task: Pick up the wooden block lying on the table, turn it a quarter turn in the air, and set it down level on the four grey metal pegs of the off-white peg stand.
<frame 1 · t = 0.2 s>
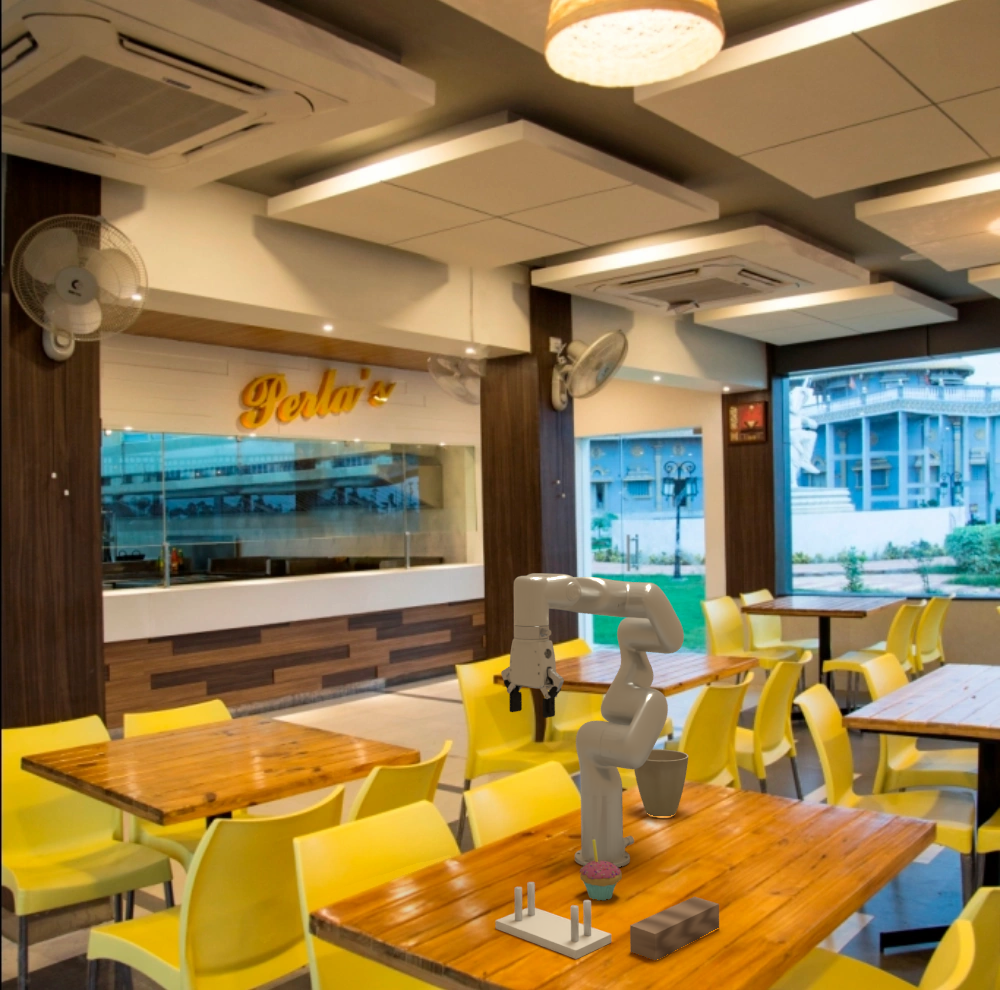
hand: (531, 714, 213), 37 cm above the table, tool pointing down, fingers open, 9 cm apart
peg stand: (552, 935, 186), on the table
wooden block: (676, 941, 183), on the table
cupcake: (601, 897, 206), on the table
plant pot: (660, 815, 266), on the table
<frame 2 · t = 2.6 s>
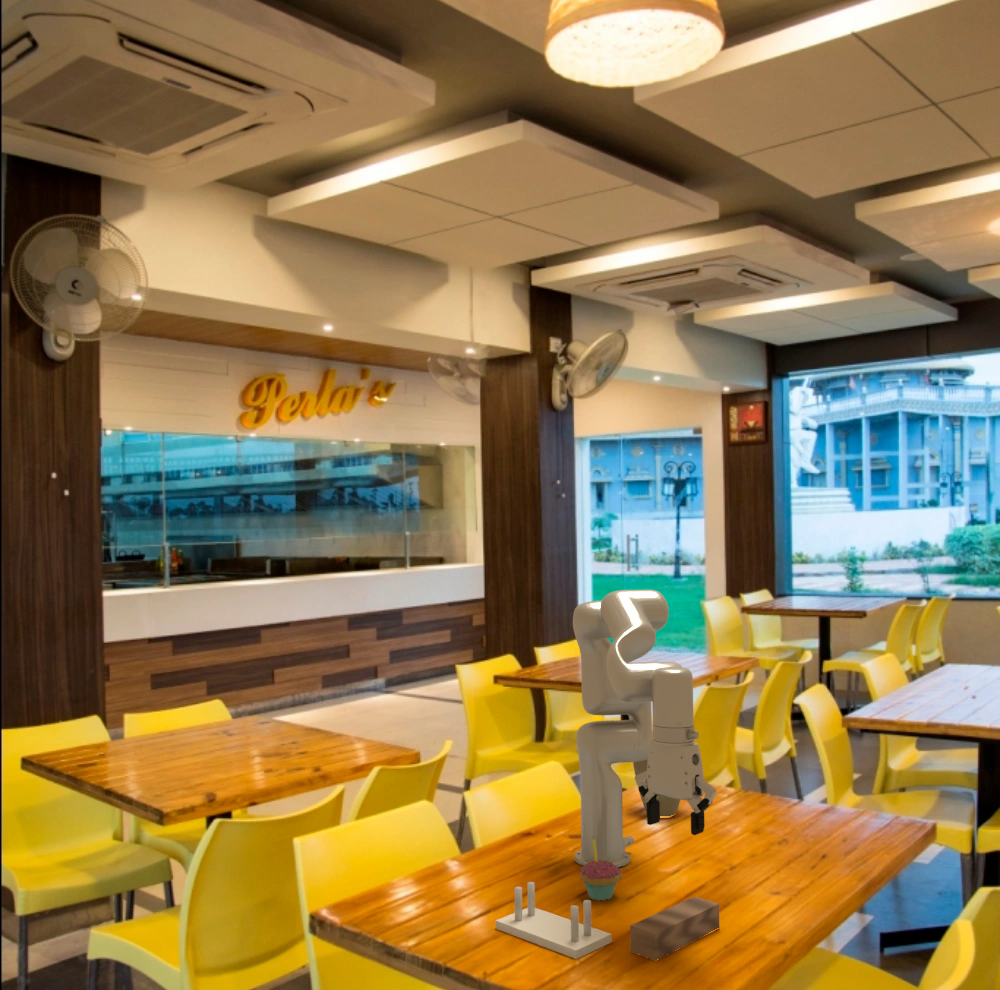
hand: (675, 828, 184), 20 cm above the table, tool pointing down, fingers open, 9 cm apart
nothing on the table moved.
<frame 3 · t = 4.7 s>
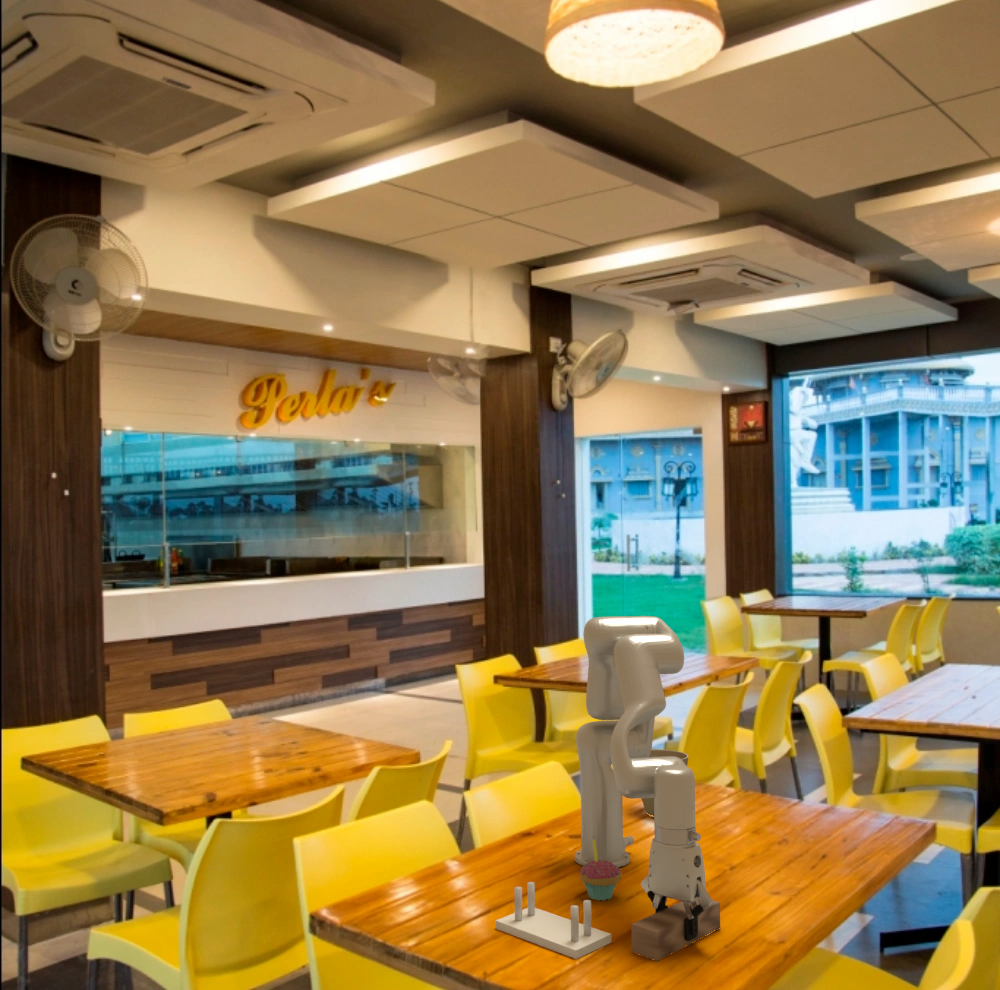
hand: (676, 933, 183), 1 cm above the table, tool pointing down, fingers closed on wooden block, 5 cm apart
wooden block: (677, 940, 183), on the table, touching gripper
everything else where it was.
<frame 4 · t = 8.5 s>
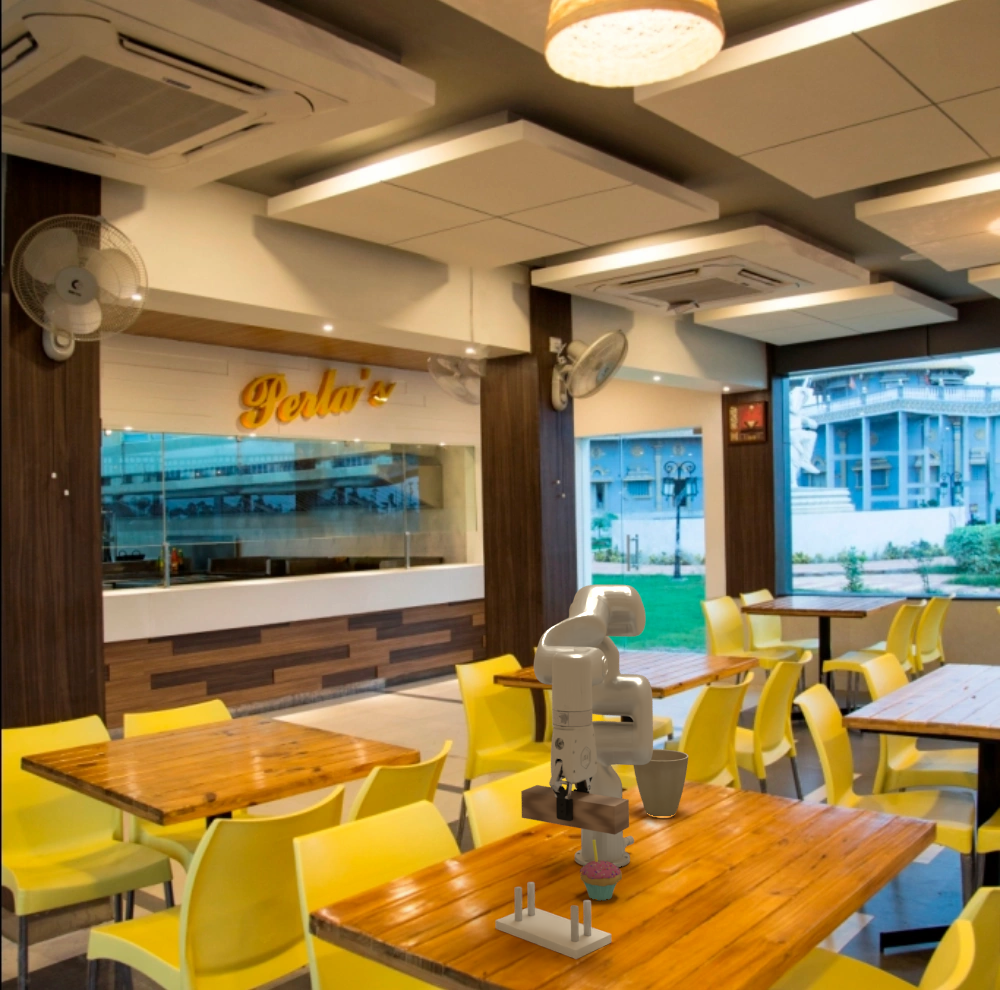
hand: (573, 814, 187), 22 cm above the table, tool pointing down, fingers closed on wooden block, 5 cm apart
wooden block: (574, 822, 186), point 21 cm above the table, touching gripper
everything else where it was.
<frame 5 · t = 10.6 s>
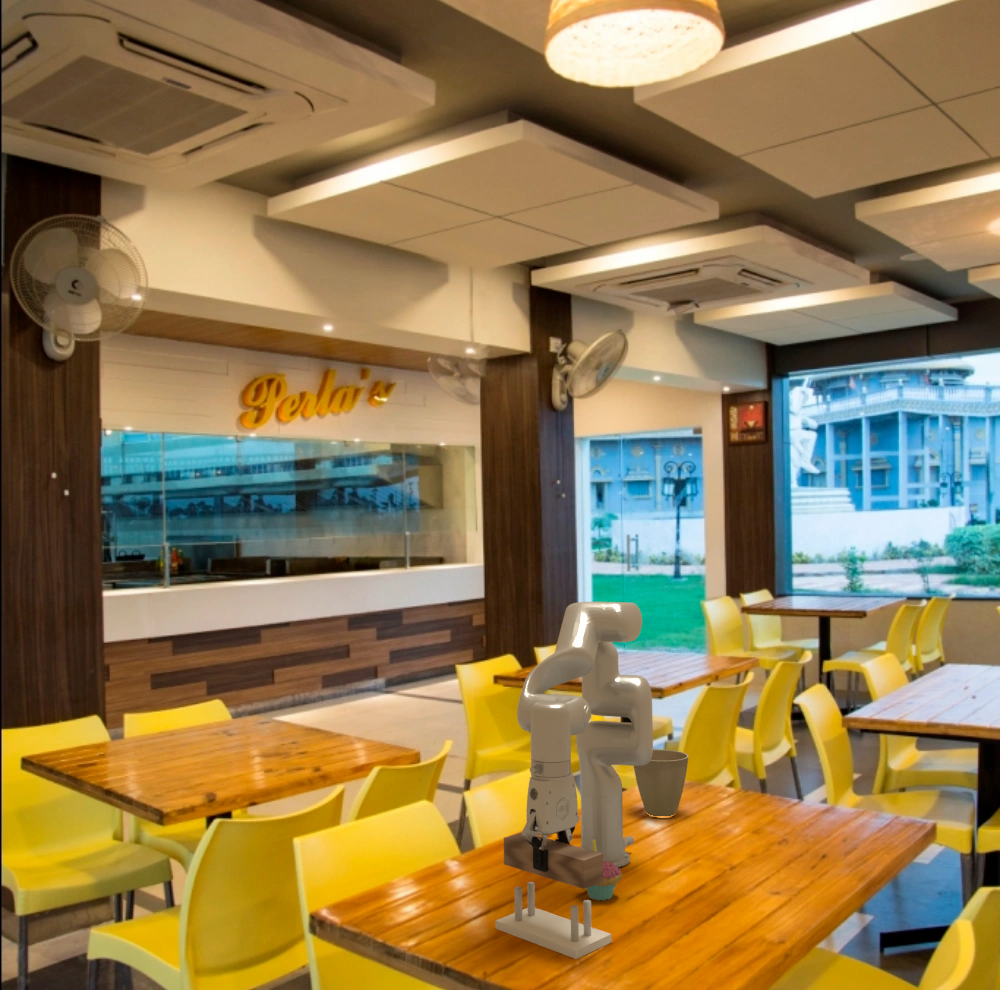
hand: (551, 865, 187), 13 cm above the table, tool pointing down, fingers closed on wooden block, 5 cm apart
wooden block: (552, 872, 186), point 12 cm above the table, touching gripper
everything else where it was.
when the fingers open (10 cm above the table, at t = 12.4 s): wooden block drops 1 cm, resting on peg stand.
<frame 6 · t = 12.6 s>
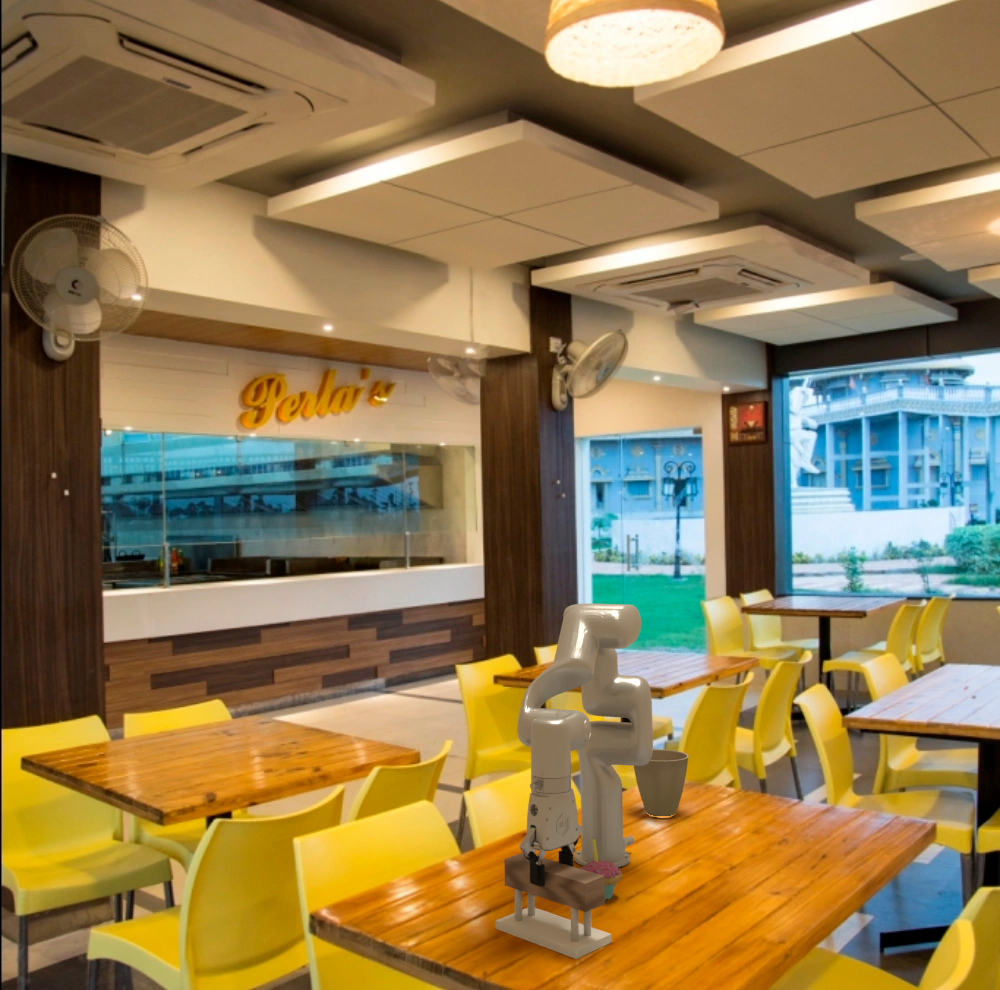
hand: (551, 878, 187), 10 cm above the table, tool pointing down, fingers open, 7 cm apart
wooden block: (553, 894, 186), point 7 cm above the table, touching peg stand
everything else where it was.
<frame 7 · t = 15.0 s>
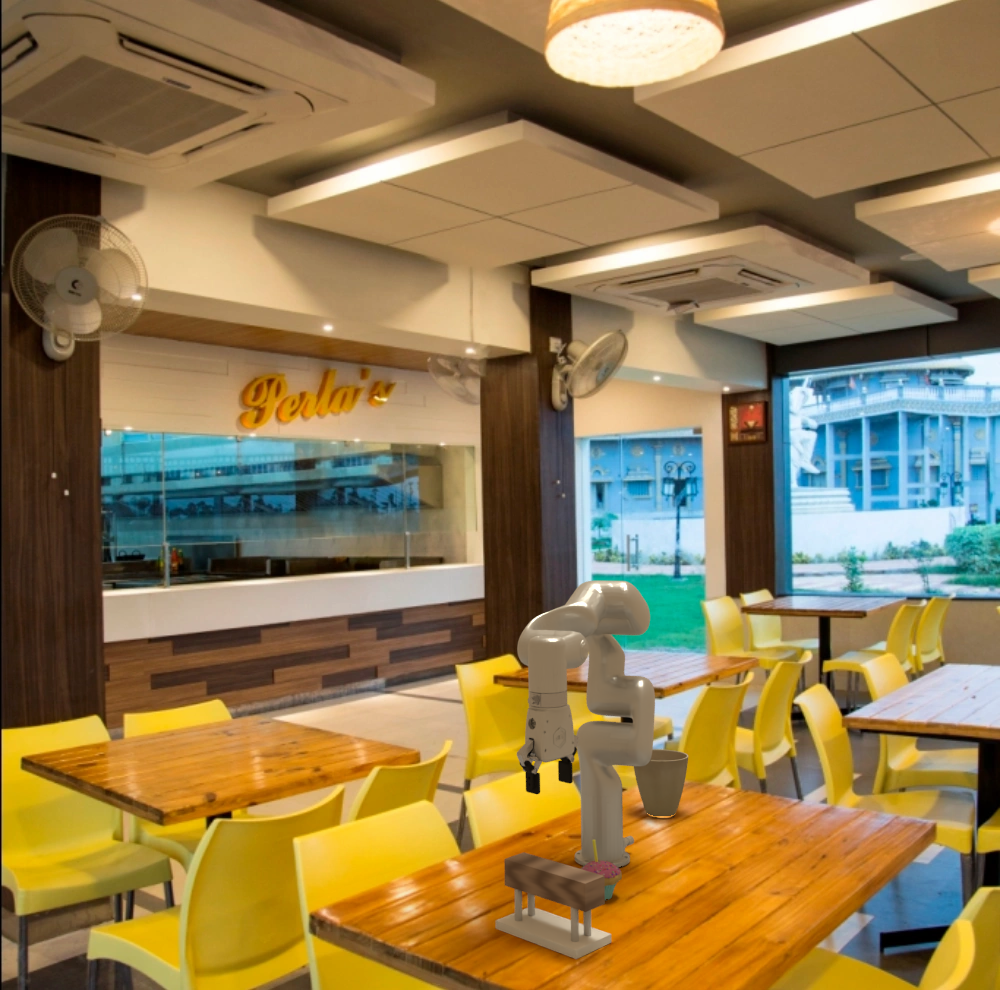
hand: (549, 787, 195), 25 cm above the table, tool pointing down, fingers open, 9 cm apart
nothing on the table moved.
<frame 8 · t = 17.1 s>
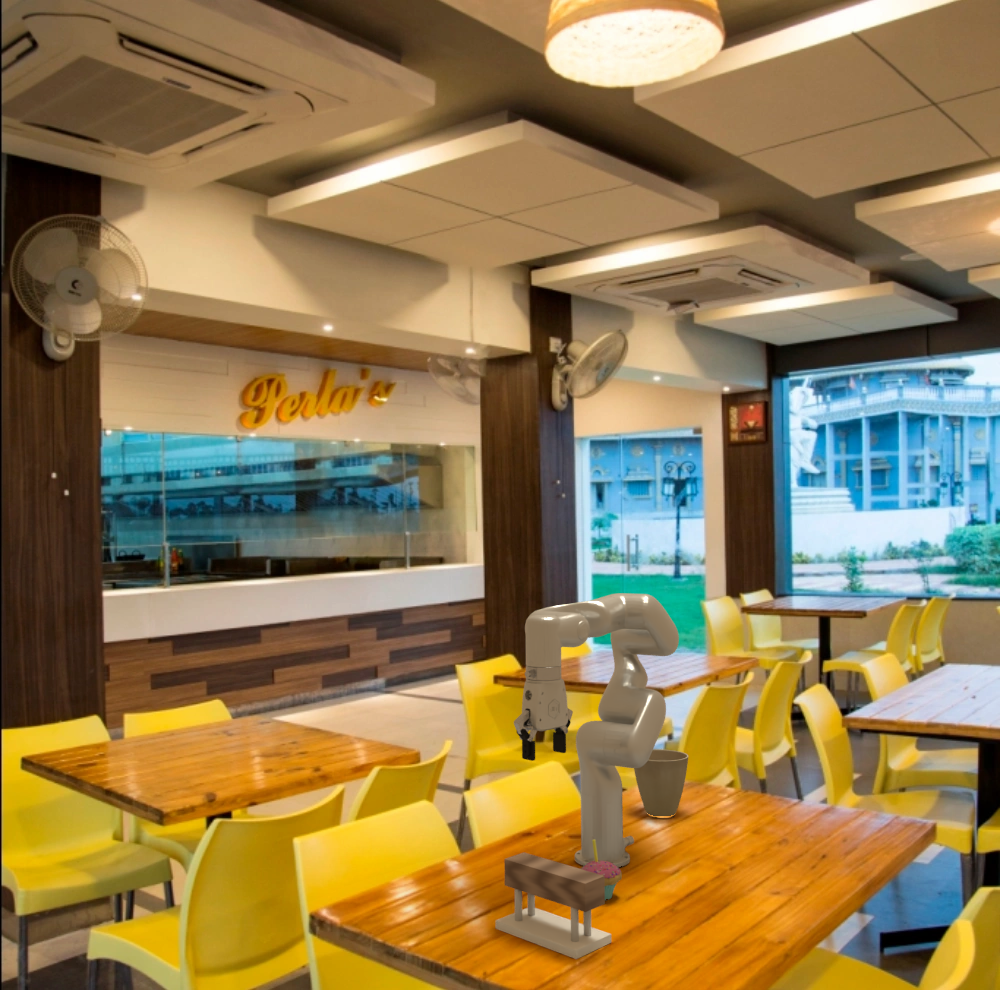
hand: (544, 755, 210), 28 cm above the table, tool pointing down, fingers open, 9 cm apart
nothing on the table moved.
at the end: wooden block 0.3 cm off-centre on the peg stand, point 7.5 cm above the peg stand's base; wooden block tilted 0°; the gripper is holding nothing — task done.
